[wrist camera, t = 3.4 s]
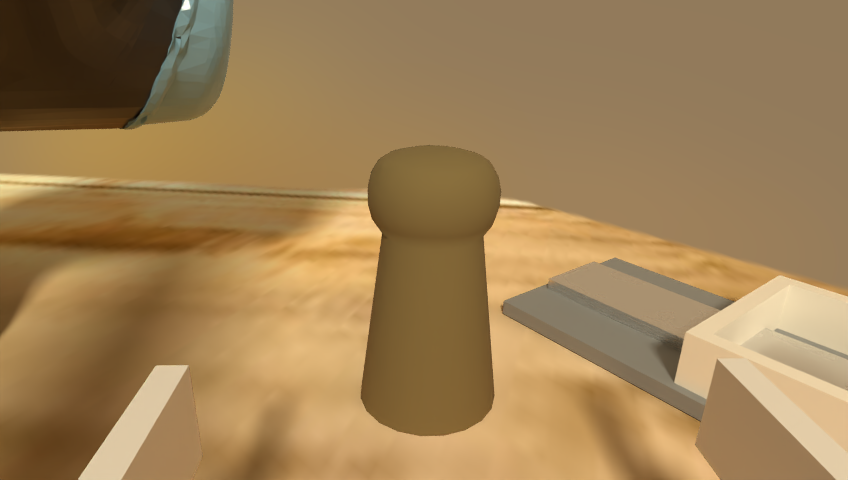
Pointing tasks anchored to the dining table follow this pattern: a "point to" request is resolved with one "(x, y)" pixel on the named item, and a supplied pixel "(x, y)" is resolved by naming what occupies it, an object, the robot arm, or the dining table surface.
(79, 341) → the dining table surface
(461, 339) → the cork
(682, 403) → the mounting board
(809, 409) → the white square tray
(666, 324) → the metal rail
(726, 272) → the dining table surface
